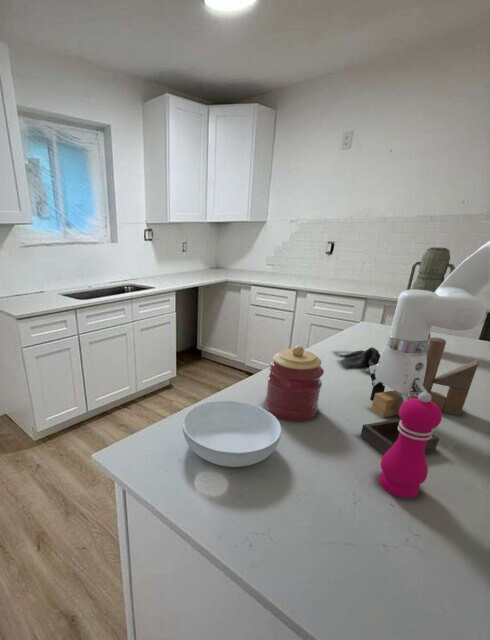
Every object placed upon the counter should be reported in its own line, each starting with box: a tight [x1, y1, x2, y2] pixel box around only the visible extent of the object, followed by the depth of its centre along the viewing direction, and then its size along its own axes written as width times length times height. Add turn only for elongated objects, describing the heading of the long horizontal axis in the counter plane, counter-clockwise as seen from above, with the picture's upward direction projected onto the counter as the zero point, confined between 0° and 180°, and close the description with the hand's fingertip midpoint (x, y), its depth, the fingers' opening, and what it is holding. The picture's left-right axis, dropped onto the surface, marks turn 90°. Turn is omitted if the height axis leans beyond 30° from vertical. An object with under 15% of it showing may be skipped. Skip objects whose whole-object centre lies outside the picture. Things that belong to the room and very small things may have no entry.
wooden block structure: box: [415, 336, 479, 416], centre depth 90 cm, size 4×11×18 cm, turn 52°
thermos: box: [406, 246, 456, 346], centre depth 124 cm, size 9×12×35 cm
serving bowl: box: [181, 400, 283, 468], centre depth 78 cm, size 21×21×7 cm
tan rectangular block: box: [370, 390, 411, 418], centre depth 91 cm, size 7×4×5 cm, turn 103°
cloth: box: [339, 347, 381, 375], centre depth 119 cm, size 22×19×6 cm
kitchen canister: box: [264, 345, 325, 422], centre depth 91 cm, size 13×13×18 cm
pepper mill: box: [378, 392, 443, 499], centre depth 64 cm, size 7×7×20 cm
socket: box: [360, 418, 440, 456], centre depth 79 cm, size 12×8×4 cm
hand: (389, 408), depth 92 cm, fingers open, 8 cm apart
